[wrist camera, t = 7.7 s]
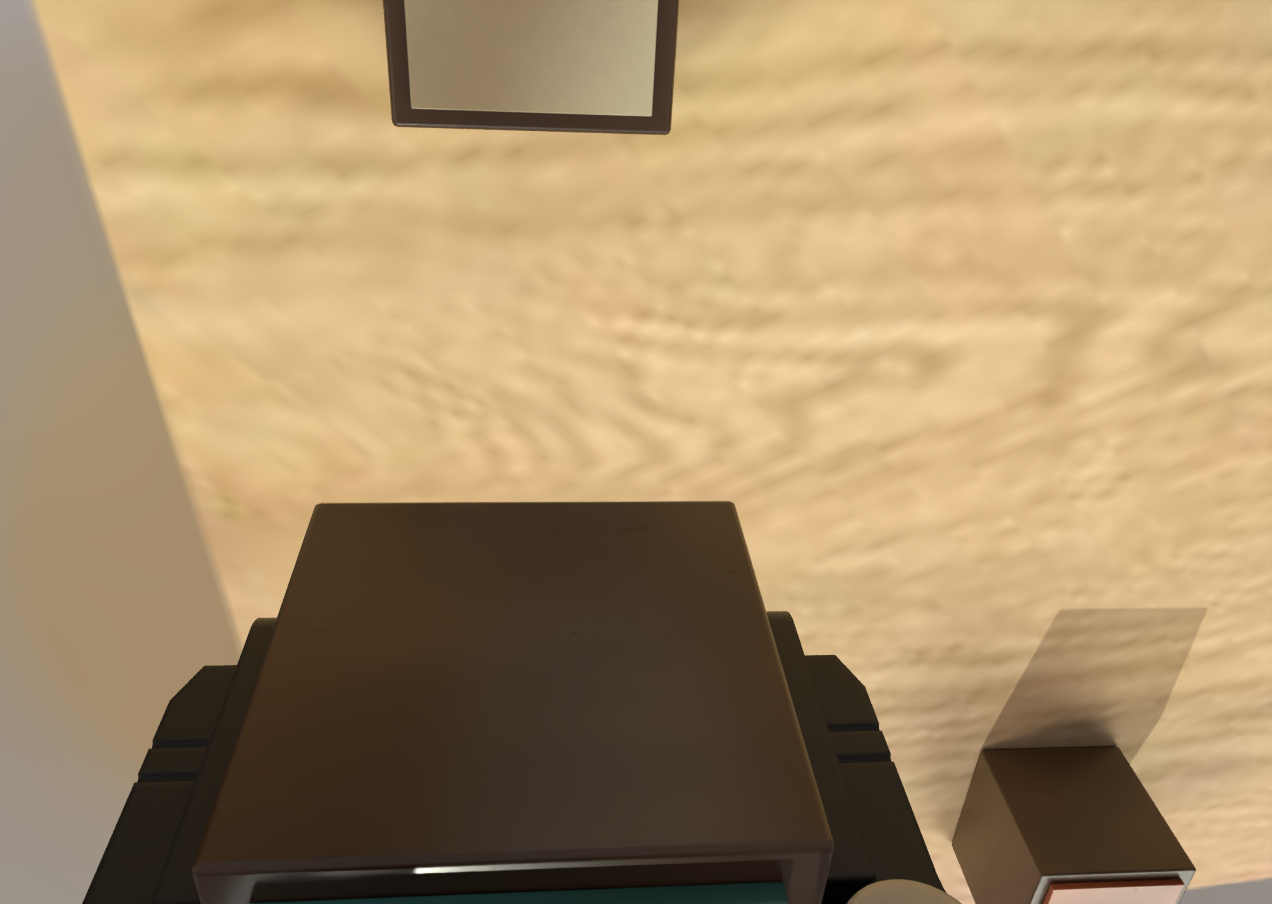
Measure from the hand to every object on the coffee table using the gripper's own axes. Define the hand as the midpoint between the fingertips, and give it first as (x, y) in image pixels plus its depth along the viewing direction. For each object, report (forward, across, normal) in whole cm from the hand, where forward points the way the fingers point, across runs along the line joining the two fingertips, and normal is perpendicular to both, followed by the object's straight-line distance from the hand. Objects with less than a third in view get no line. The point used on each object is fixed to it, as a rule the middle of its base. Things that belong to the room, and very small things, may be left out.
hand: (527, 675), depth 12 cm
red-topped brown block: (+12, -16, +18) cm, 27 cm away
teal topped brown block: (0, 0, 0) cm, 0 cm away
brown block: (+13, 0, -6) cm, 14 cm away
